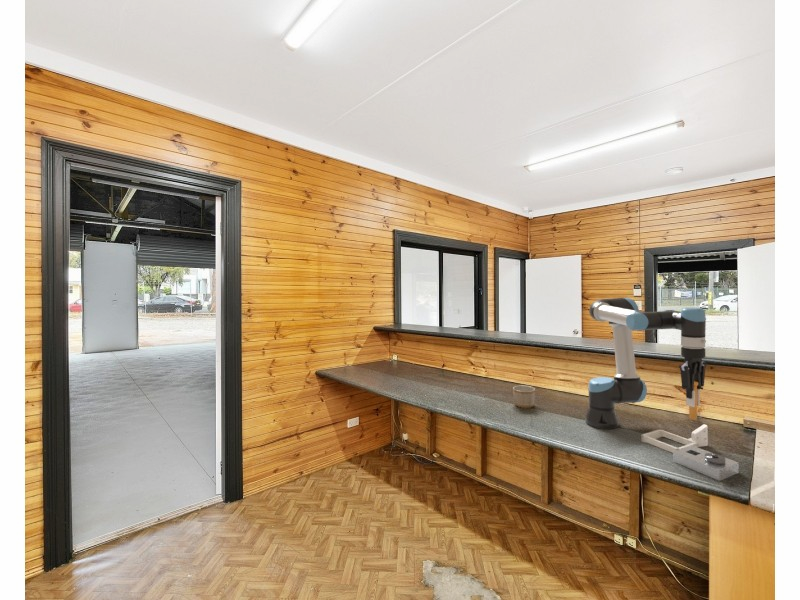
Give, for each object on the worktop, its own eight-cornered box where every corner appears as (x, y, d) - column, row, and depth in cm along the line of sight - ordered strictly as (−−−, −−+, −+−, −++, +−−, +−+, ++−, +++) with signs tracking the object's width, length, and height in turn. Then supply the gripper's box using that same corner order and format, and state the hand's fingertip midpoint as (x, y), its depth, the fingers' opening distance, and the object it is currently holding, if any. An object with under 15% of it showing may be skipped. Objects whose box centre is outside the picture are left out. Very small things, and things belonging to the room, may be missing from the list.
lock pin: (686, 418, 147) (686, 381, 147) (691, 416, 149) (691, 380, 148) (695, 420, 145) (695, 383, 144) (700, 419, 146) (700, 382, 145)
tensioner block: (672, 463, 149) (672, 445, 149) (691, 456, 154) (691, 439, 153) (719, 483, 134) (719, 463, 134) (738, 475, 139) (738, 455, 138)
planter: (513, 408, 218) (512, 391, 217) (513, 401, 230) (513, 384, 229) (535, 409, 214) (535, 392, 213) (535, 402, 226) (534, 385, 225)
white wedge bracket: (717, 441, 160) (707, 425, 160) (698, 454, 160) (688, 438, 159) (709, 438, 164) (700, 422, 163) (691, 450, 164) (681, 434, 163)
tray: (641, 442, 169) (641, 434, 168) (660, 436, 173) (660, 429, 173) (678, 457, 154) (678, 449, 153) (698, 450, 158) (698, 442, 158)
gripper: (691, 351, 138) (691, 411, 140) (716, 346, 144) (715, 404, 146) (670, 347, 145) (670, 405, 147) (694, 343, 151) (694, 399, 153)
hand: (693, 405), depth 146 cm, fingers closed on lock pin, 2 cm apart
